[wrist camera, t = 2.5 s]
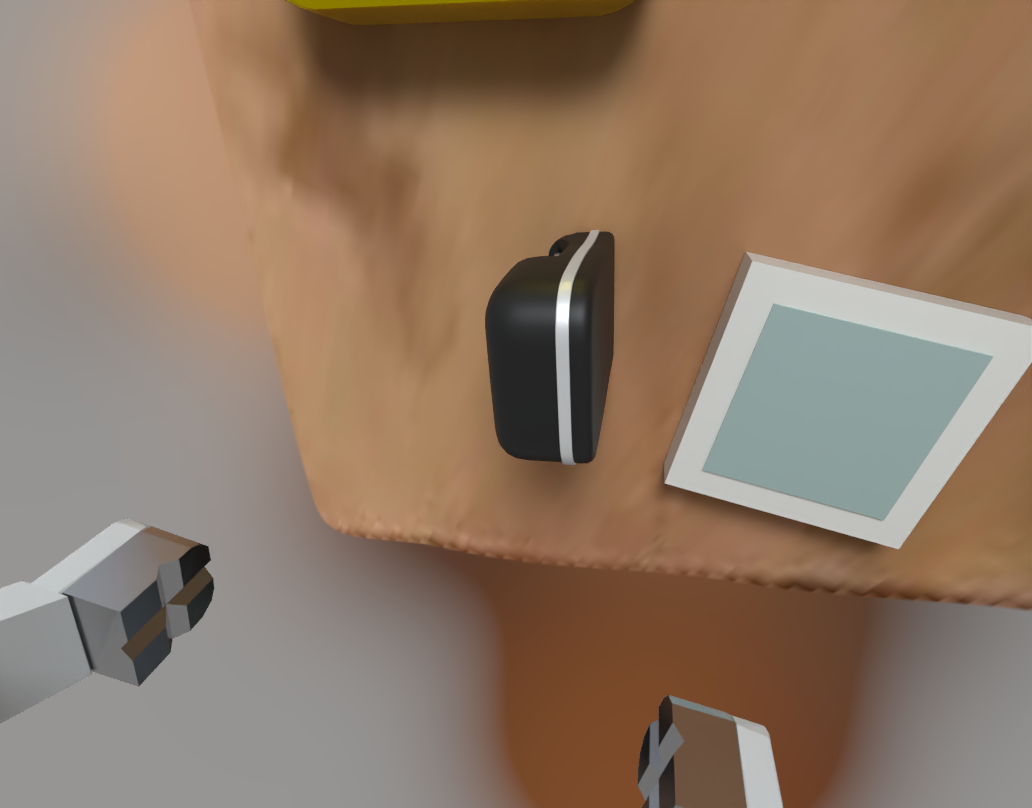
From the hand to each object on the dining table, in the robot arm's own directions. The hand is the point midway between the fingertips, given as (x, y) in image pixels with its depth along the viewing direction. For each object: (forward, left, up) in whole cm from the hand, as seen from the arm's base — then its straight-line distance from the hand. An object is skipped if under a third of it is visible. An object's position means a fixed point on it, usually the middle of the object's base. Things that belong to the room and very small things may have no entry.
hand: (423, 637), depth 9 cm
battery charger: (0, 0, -21) cm, 21 cm away
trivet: (-13, +2, -21) cm, 25 cm away
